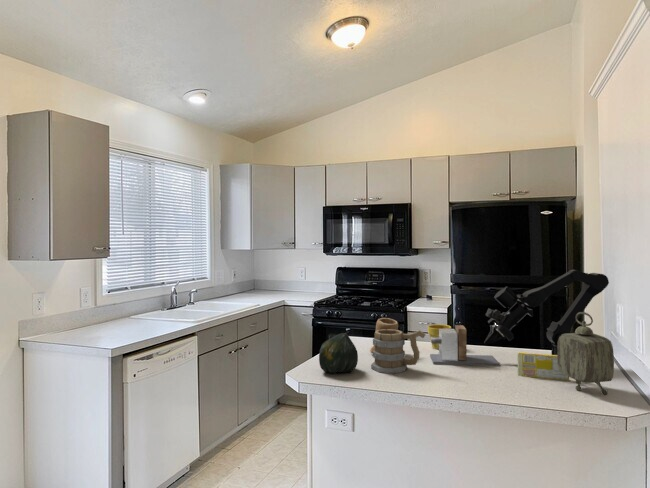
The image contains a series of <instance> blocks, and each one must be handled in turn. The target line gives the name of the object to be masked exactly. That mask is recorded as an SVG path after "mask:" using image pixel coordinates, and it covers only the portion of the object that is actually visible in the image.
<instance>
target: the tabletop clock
mask: <svg viewBox="0 0 650 488" xmlns="http://www.w3.org/2000/svg"><path fill="white" fill-rule="evenodd" d="M579 314H581V315H585V316H588V317H589V319H590V322H589V323H587V321H586V320H582V321H579V320H578V319H577V316H578V315H579ZM575 318H576V322H577V324H579V325H580V326H578V327H577V328H576V329H575V331H574V332H571V333H568V334H562V335H561V336H560V337H559V339H558V346H557V358H558V368H559V371H560V372H561V373H563V374H565V375H567V376H569V378H570V379H572V380H575V381H574V383H576V384H577V385H576V386H575V390H576V391H578V392H579V391H581V390H582V387H581V384H582V383H585V384H593V383H594V384H596V385H597V386H598V387H599V388H600V390H601V394H602V395H604V396H605V395H608V390H607V389H605V388H603V386H602V384H601V383H606V382H611V381H612V379H613V377H614V369H615V356H614V347H613V343H612V341H611V340H610V339H609V338H607V337H606V336H602V335H601V334H597V333H594V331H593V329H592V328H591V327H589V326H591V325H593V322H594V320H593V317H592V315H591V314H589V313H588V312H584V311H583V312H579V313H577V314H576V317H575Z"/></svg>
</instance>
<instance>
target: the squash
mask: <svg viewBox="0 0 650 488" xmlns="http://www.w3.org/2000/svg"><path fill="white" fill-rule="evenodd" d="M358 361H359V354H358V350H357V348H356V345H355V344H354V342H353V341H352V339H351V338H350V337H349V335H348V334H347V333H346V332H342V333H338V334H337V335H334V336H332V337H330V338H329V339H327V340H325V341H324V342H322V344H321V346H320V349H319V354H318V363H319V366H320V368H321V370H322V371H323V372H324V373H331V374H335V373H337V372H339V373H344V372H345V373H349V372H352V371H354V370H355V369H356V368H357V365H358Z"/></svg>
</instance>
